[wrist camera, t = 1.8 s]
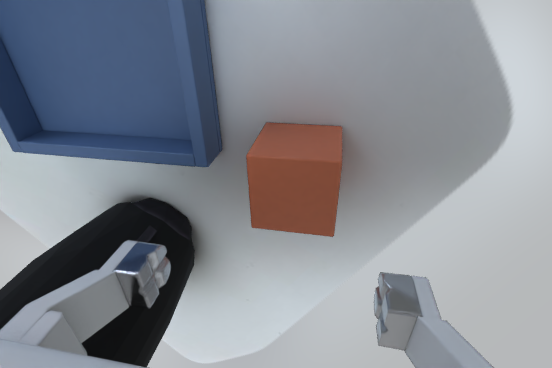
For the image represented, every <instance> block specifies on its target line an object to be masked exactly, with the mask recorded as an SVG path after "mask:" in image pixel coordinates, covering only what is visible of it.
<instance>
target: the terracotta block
mask: <svg viewBox="0 0 552 368" xmlns="http://www.w3.org/2000/svg"><path fill="white" fill-rule="evenodd" d="M246 159H247V172H248V185H249V198H250V212H251V225H252V228H260V229H269V230H277V231H286V232H295V233H304V234H313V235H322V236H330V237H333V236H334V231H335V222H336V213H337V204H338V196H339V187H340V178H341V170H342V127H341V126H325V125H306V124H287V123H268V122H267V123H266V124H265V125H264V127H263V129H262V130H261V132H260V134H259V135H258V137H257V139H256V140H255V142H254V144H253V145H252V147H251V149H250V150H249V152H248V154H247V155H246Z"/></svg>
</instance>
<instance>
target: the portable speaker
mask: <svg viewBox="0 0 552 368" xmlns="http://www.w3.org/2000/svg"><path fill="white" fill-rule="evenodd" d="M127 240H131V241H138V242H146V243H152V244H159V245H164V246H165V247H166V250H167V253H166V255H165V257H166V258H167V259H168V260H169V261H170V264H171V271H170V275H169V278H168V280H167V282H166V283H165V285H163V286H162V287H160V288H158V290H159V295H158V296H157V298H156V300H155V301H154V303H153V305H152V306H151V308H142V307H135V306H129V308H127V309H126V310H125V311H123V312H122V313H121V314H119V315H118V316H117V317H116V318H114V319H113V320H112V321H110V322H109V323H108V324H106V325H105V326H104V327H102V328H101V329H100V330H98V331H97V332H96V333H94V334H93V335H92V336H90V337H89V338H88V339H86V340H85V341H84V342H82V343H81V344H82V345H83V347H84V348H85V350H86V352H87V356H91V357H96V358H102V359H107V360H112V361H117V362H122V363H127V364H132V365H137V366H142V367H147V365H148V363H149V361H150V360H151V358H152V356H153V354H154V352H155V350H156V348H157V346H158V344H159V342H160V340H161V339H162V337H163V335H164V333H165V331H166V329H167V327H168V325H169V323H170V321H171V318H172V316H173V314H174V311H175V309H176V307H177V304H178V302H179V299H180V297H181V295H182V292H183V290H184V287H185V285H186V283H187V280H188V278H189V275H190V273H191V271H192V268H193V266H194V251H195V250H194V247H193V244H192V240H191V225H190V223H189V221H188V219H187V217H186V216H184V215H183V214H181V213H180V212H179V211H177V210H176V209H174V208H173V207H172V206H170V205H169V204H167V203H164V202H161V201H158V200H155V199H152V198H149V199H145V200H142V201H139V202H134V203H131V202H126V203H119V204H116V205H115V206H113V207H111V208H110V209H108V210H106V211H105V212H103V213H102V214H100V215H99V216H97V217H96V218H94V219H93V220H92V221H90V222H89V223H87V224H86V225H84V226H83V227H81V228H80V229H78V230H77V231H75V232H74V233H72V234H71V235H69V236H68V237H66V238H65V239H63V240H62V241H61V242H59V243H58V244H56V245H55V246H53V247H52V248H50V249H49V250H48V251H46V252H45V253H43V254H42V255H40V256H39V257H37V258H36V259H35V260H33V261H32V262H31V263H30V264H28V265H27V267H25V268H24V269H23V270H22V271H21V272H20V273H18V274H17V275H16V276H15V277H14V278H13V279H12V280H11V281H10V282H8V283H7V284H6V285H5V286H4V287H3V288H2V289H1V290H0V330H1V329H2V328H3V327H4V326H5V325H6V324H7V323H8V322H9V321H10V320H11V319H12V318H13V317H14V316H15V315H16V314H17V313H18V312H19V311H20V310H21V309H22V308H23V307H24V306H25V305H27V304H29V303H31V302H32V301H34V300H36V299H38V298H40V297H42V296H44V295H46V294H48V293H50V292H52V291H54V290H56V289H58V288H60V287H62V286H64V285H66V284H68V283H70V282H72V281H74V280H76V279H78V278H80V277H82V276H84V275H86V274H88V273H90V272H92V271H94V270H99V269H100V268H101V267H102V266H103V265H104V264H105V263H106V262H107V261H108V259H109V258H110V257H111V256H112V255H113V254H114V253H115V252H116V251H117V249H118V248H119V247H120V246H121V245H122V244H123V243H124V242H125V241H127Z"/></svg>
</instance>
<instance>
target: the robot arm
mask: <svg viewBox="0 0 552 368" xmlns="http://www.w3.org/2000/svg"><path fill="white" fill-rule="evenodd" d="M166 253H167V250H166V247H165V246H164V245H159V244H152V243H146V242H138V241H131V240H127V241H125V242H124V243H123V244H122V245H121V246H120V247H119V248H118V249H117V251H116V252H115V253H114V254H113V255H112V256H111V257H110V258H109V259H108V261H107V262H106V263H105V264H104V265H103V266H102V267H101V268H100V269H99V270H94V271H92V272H90V273H88V274H86V275H84V276H82V277H80V278H78V279H76V280H74V281H72V282H70V283H68V284H66V285H64V286H62V287H60V288H58V289H56V290H54V291H52V292H50V293H48V294H46V295H44V296H42V297H40V298H38V299H36V300H34V301H32V302H31V303H29V304H27V305H25V306H24V307H23V308H22V309H21V310H20V311H19V312H18V313H17V314H16V315H15V316H14V317H13V318H12V319H11V320H10V321H9V322H8V323H7V324H6V325H5V326H4V327H3V328H2V329H1V330H0V368H147V367H142V366H137V365H132V364H127V363H122V362H117V361H112V360H107V359H102V358H96V357H91V356H87V352H86V350H85V348H84V347H83V345H82V344H81V343H82V342H84V341H85V340H86V339H88V338H89V337H90V336H92V335H93V334H94V333H96V332H97V331H98V330H100V329H101V328H102V327H104V326H105V325H106V324H108V323H109V322H110V321H112V320H113V319H114V318H116V317H117V316H118V315H119V314H121V313H122V312H123V311H125V310H126V309H127V308H129V306H135V307H142V308H151V306H152V305H153V303H154V301H155V300H156V298H157V296H158V295H159V290H158V288H160V287H162V286H163V285H165V283H166V282H167V280H168V278H169V275H170V271H171V264H170V261H169V260H168V259H167V258H166V257H165V255H166ZM378 283H379V286H378V287H377V288H376V290H375V295H374V313H375V316H376V317H377V319H378V322H377V325H376V330H377V339H378V345H379V346H383V347H389V348H394V349H399V350H404V351H405V353H406V355H407V356H408V357H409V359H410V360H411V362H412V363H413V365H414V366H415V368H494V367H493V366H492V365H491V364H490V363H489V362H488V361H487V360H486V359H485V358H484V357H483V356H482V355H481V354H480V353H479V352H478V351H477V350H476V349H475V348H474V347H473V346H472V345H471V344H470V343H469V342H468V341H466V340H465V339H464V338H463V337H462V336H461V335H460V334H459V333H458V332H457V331H456V330H455V329H454V328H453V327H452V326H451V325H450V324H449V323H448V322H447V321H445V320H441V317H440V313H439V310H438V308H437V304H436V301H435V298H434V295H433V292H432V289H431V286H430V283H429V280H428V279H427V278H426V277H418V276H409V275H401V274H393V273H384V272H380V274H379V278H378Z"/></svg>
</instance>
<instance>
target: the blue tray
mask: <svg viewBox="0 0 552 368" xmlns="http://www.w3.org/2000/svg"><path fill="white" fill-rule="evenodd" d="M0 128H1V129H2V131H3V133H4V135H5V137H6V139H7V141H8V143H9V145H10V146H11V148H12V150H13V151H14V152H23V153H33V154H45V155H58V156H70V157H83V158H95V159H107V160H120V161H132V162H144V163H157V164H169V165H181V166H194V167H195V166H197V167H209V166H210V164H211V163H212V162H213V160H214V159H215V158H216V157H217V155H218V154H219V153H220V152H221V151H222V143H221V135H220V126H219V118H218V110H217V101H216V93H215V85H214V77H213V68H212V60H211V52H210V44H209V35H208V27H207V19H206V11H205V2H204V0H0Z"/></svg>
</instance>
